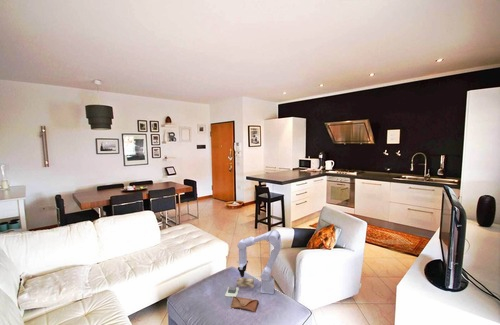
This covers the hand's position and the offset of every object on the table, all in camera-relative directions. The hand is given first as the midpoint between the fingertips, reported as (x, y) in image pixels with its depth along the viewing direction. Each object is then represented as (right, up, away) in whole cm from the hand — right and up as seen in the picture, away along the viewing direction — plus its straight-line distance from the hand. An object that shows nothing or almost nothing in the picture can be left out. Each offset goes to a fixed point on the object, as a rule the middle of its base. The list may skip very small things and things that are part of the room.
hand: (243, 273), depth 169 cm
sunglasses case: (+1, -12, -20) cm, 24 cm away
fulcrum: (-8, -10, -7) cm, 14 cm away
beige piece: (+2, -10, +1) cm, 10 cm away
